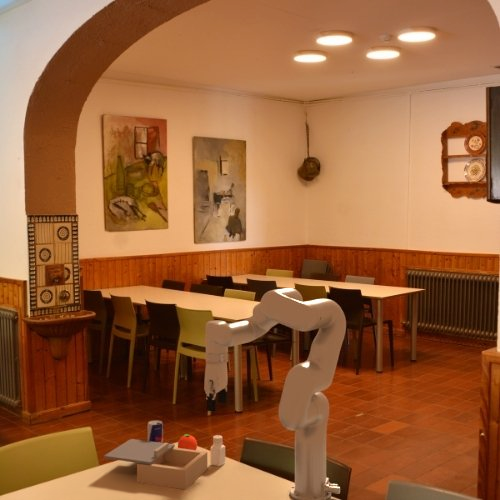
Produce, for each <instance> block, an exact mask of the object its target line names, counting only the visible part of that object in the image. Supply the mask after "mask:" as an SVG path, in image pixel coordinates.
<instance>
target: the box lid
mask: <svg viewBox="0 0 500 500" xmlns="http://www.w3.org/2000/svg"><path fill="white" fill-rule="evenodd" d="M172 448H176V446H175V444H174V443H169V442H163V443H159V442H152V441H148V440H144V439H143V440H142V439H135V438H130V439H129V440H127V441H124V442H123V443H122V444H120V445H119V446H117V447H115V448H114V449H112V450H111V451H109V452H108V453H106V454H104V456H103V458H104V459H108V460H115V461H123V462H128V463H129V462H130V463H136V464H137V463H142V464H149V465H151V464H152V463H154V462H155V461H156V460H158V459H159V458H160V457H162V456H163V455H164V454H166V453H167V452H168V451H170V450H171V449H172Z"/></svg>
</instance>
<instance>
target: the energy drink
mask: <svg viewBox="0 0 500 500" xmlns="http://www.w3.org/2000/svg"><path fill="white" fill-rule="evenodd" d="M163 426H164V424H163V421H162V420H159V419H157V420H156V419H155V420H150V421H148V422H147V428H146V429H147V441H152V442H159V443H164V429H163Z"/></svg>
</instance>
